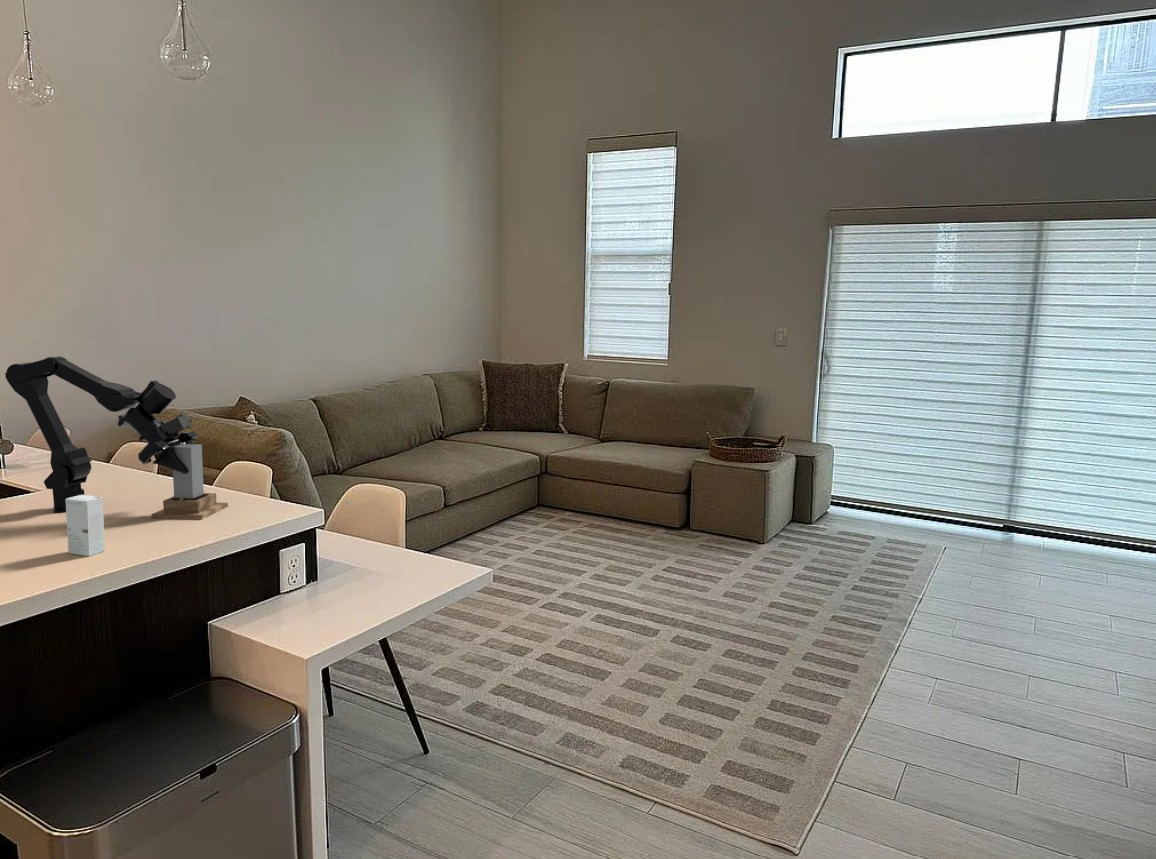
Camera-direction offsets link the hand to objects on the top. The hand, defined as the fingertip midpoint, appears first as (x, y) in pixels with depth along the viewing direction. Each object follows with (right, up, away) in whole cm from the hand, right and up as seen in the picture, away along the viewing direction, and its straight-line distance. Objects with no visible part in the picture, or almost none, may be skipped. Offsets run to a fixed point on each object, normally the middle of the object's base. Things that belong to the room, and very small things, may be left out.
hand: (193, 470), depth 206 cm
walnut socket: (-1, -11, +2) cm, 11 cm away
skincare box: (-7, -16, -32) cm, 37 cm away
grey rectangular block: (-1, -7, +1) cm, 7 cm away
